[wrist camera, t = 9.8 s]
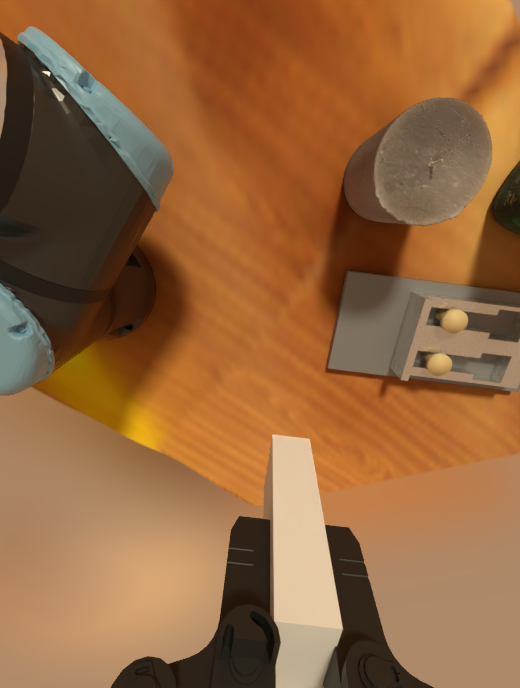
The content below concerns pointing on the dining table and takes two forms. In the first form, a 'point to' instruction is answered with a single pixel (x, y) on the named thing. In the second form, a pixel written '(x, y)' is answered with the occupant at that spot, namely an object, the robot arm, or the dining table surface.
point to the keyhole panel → (456, 341)
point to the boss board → (387, 318)
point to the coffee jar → (509, 202)
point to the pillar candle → (421, 165)
